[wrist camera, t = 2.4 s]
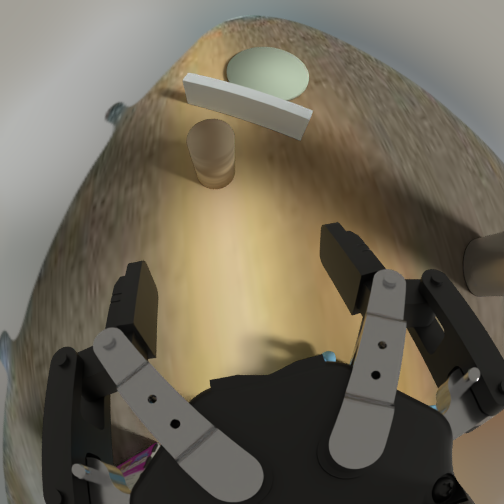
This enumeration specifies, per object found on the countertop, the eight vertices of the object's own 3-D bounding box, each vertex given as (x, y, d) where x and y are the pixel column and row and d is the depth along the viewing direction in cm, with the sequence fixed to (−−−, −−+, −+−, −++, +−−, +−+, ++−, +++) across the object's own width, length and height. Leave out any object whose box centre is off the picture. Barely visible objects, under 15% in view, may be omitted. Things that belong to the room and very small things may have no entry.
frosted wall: (303, 132, 34) (313, 110, 29) (300, 140, 33) (309, 119, 28) (192, 95, 33) (188, 72, 29) (187, 103, 33) (182, 80, 28)
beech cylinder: (230, 152, 33) (230, 115, 25) (238, 185, 32) (238, 153, 24) (194, 159, 32) (184, 124, 24) (200, 192, 32) (189, 163, 24)
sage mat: (294, 48, 36) (295, 45, 35) (318, 100, 34) (319, 97, 34) (221, 53, 35) (221, 51, 34) (234, 107, 34) (234, 105, 33)
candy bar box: (135, 490, 26) (100, 561, 9) (109, 468, 26) (62, 534, 10) (185, 464, 27) (161, 551, 11) (157, 440, 27) (114, 522, 11)
